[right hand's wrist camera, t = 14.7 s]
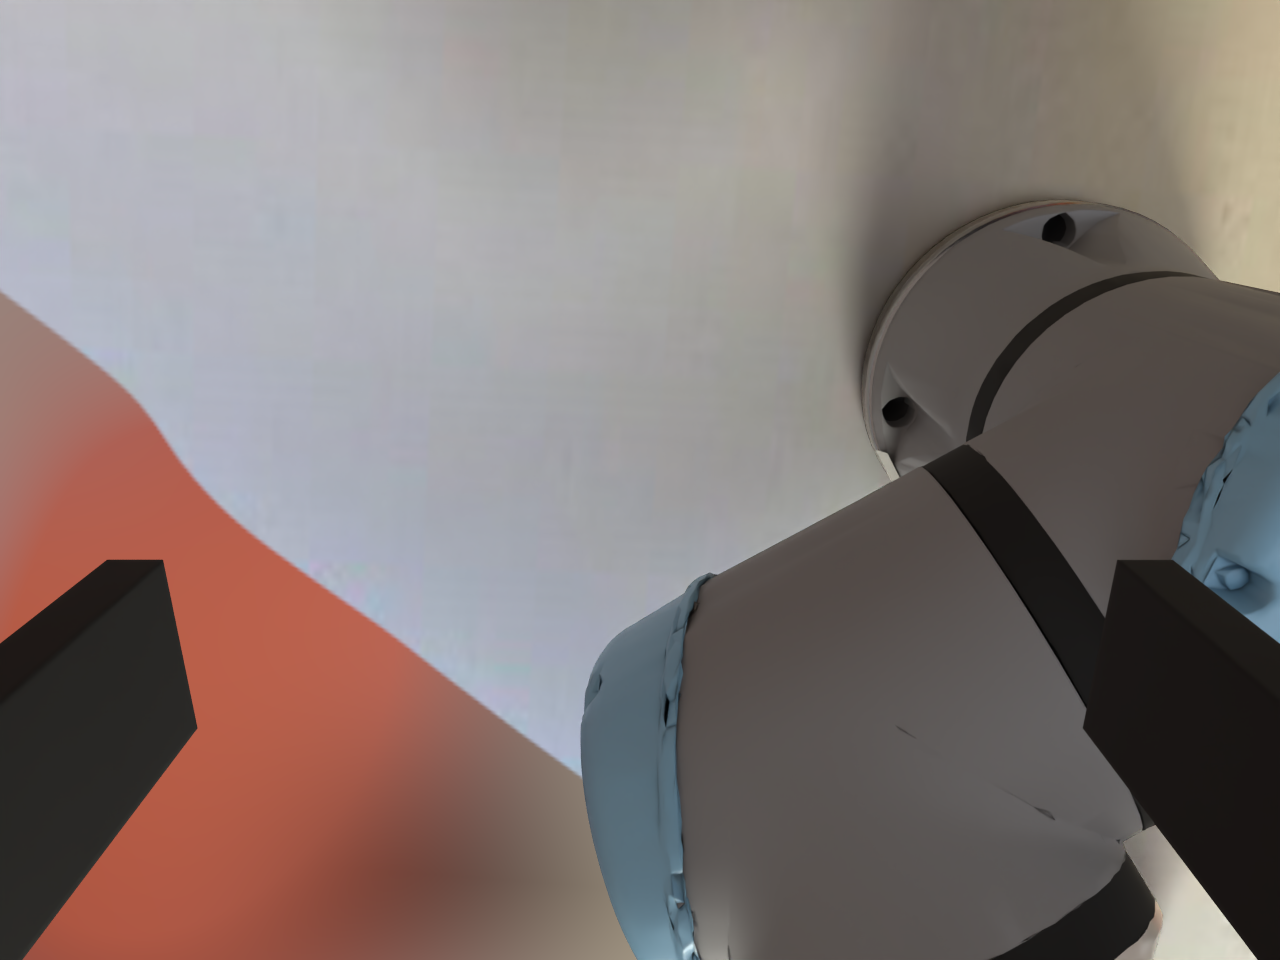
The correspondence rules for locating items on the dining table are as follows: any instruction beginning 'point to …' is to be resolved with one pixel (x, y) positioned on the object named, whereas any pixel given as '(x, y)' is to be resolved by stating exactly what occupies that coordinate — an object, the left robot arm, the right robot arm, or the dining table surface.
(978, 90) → the dining table surface
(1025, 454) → the right robot arm
